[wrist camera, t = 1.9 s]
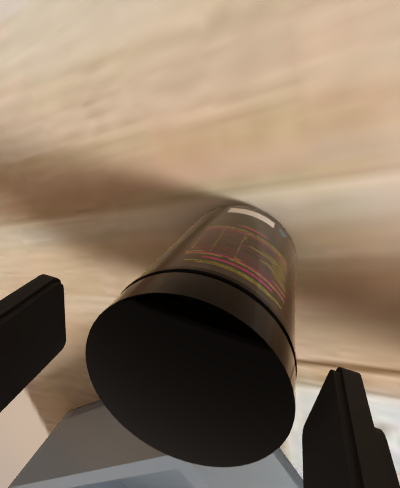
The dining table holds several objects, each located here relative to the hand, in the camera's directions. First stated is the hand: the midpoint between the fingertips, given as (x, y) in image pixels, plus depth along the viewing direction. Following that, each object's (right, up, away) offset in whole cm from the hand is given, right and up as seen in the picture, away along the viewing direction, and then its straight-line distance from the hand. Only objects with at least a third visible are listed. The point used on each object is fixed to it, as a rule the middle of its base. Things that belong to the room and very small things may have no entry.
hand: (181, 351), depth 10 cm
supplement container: (+3, +3, +8) cm, 10 cm away
